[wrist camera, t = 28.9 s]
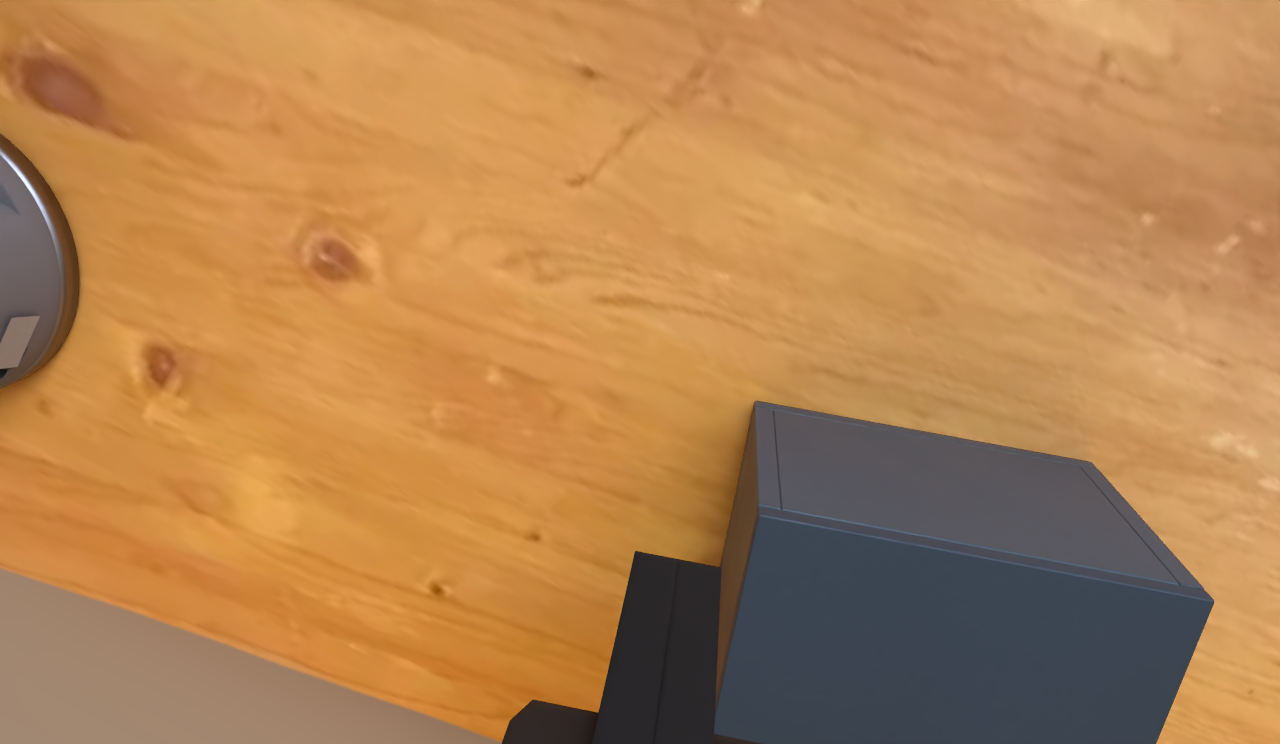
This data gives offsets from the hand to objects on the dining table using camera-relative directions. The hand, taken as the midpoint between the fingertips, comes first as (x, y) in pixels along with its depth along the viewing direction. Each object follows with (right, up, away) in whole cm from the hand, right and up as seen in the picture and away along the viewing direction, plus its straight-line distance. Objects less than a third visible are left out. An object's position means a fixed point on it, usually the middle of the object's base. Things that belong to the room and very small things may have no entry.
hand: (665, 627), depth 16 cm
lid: (+11, -10, +21) cm, 26 cm away
